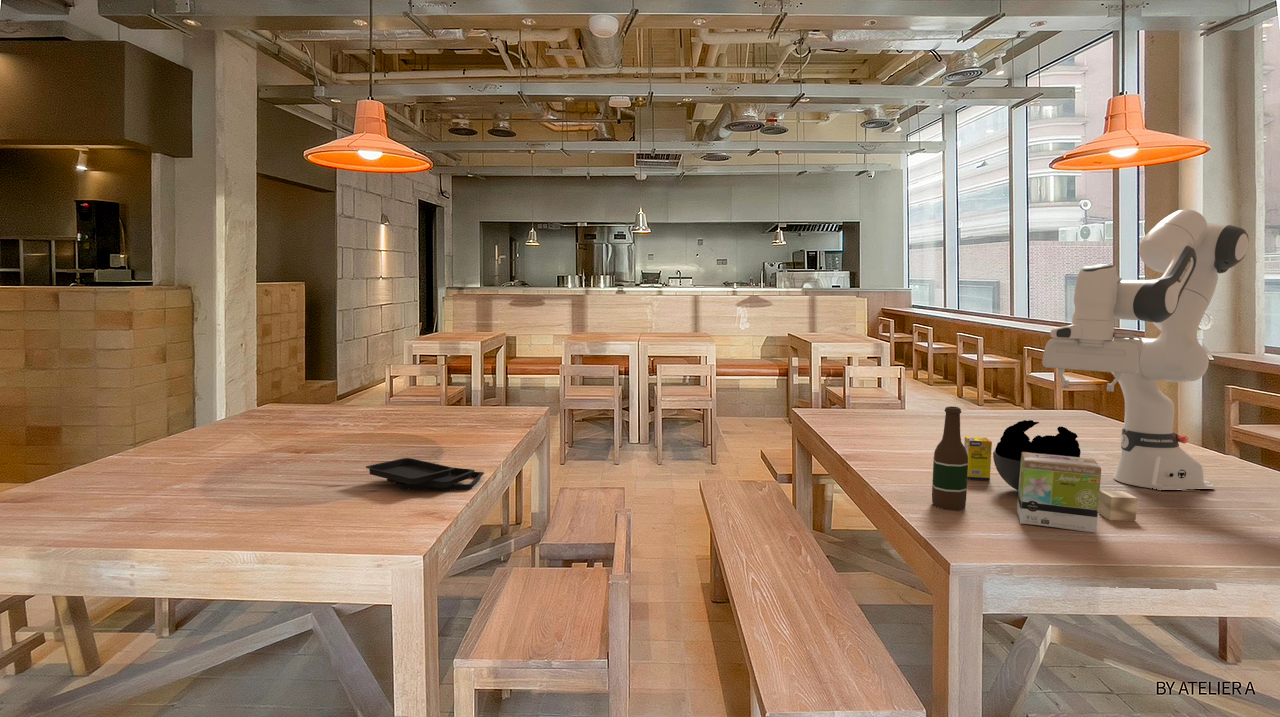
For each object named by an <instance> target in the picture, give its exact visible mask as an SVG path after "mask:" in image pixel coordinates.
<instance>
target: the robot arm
mask: <svg viewBox="0 0 1280 717" xmlns="http://www.w3.org/2000/svg"><path fill="white" fill-rule="evenodd" d="M1248 248H1249V235H1248V233H1247V231H1246V230H1245V229H1244V228H1243V227H1240V226H1238V225H1237V226H1236V225H1231V224H1227V225H1224V224H1218V223H1211V222H1207V220H1206V218H1205V217H1204V216H1203V215H1202V213H1200V212H1198V211H1196V210H1193V209H1189V208H1188V209H1180V210H1176V211H1174V212H1172V213H1170V214H1169V215H1166V217H1164V218H1163V219H1161V220H1160V221H1159V222H1157V223H1156V224H1155V225H1154V226H1153V227H1152V228H1151V229H1150V230H1149V231H1148V232H1147V233H1146V234H1145V236H1143V238H1142V239H1141V241H1140V243H1139V247H1138V251H1139V256H1140V260H1141V261H1142V262H1143V263H1144V264H1145V266H1146V267H1147V268H1149V269H1150V270H1152V271H1155V272H1157V273H1159V274H1160V273H1161V274H1162V276H1161V277H1158V278H1153V279H1123V278H1122V277H1120V276H1119V275H1118V274H1117V273H1118V271H1117V267H1116V266H1115V265H1113V264H1106V263H1099V264H1098V263H1097V264H1090V265H1085V266H1083V267H1081V268H1080V270H1079V272H1078V274H1077V278H1076V282H1075V287H1074V295H1073V303H1074V312H1073V314H1072V318H1071V319H1072V320H1071V324H1069V325H1067V324H1066V325H1065V324H1064V325H1062V326H1058V327H1055V328H1052V329H1051V331H1050V337H1051V338H1050V339H1048V340H1047V342H1046V343H1045V347H1044V351H1043V355H1042V359H1041V360H1042V361H1041V362H1042V365H1043V367H1044V368H1045V369H1048V368H1050V369H1057V374H1058V376H1059V379H1060V380H1061V388H1065V389H1069V387H1070V380H1069V379H1066V378H1065V375H1064V374H1065V371H1066V370H1076V371H1088V372H1089V371H1090V372H1103V373H1105V372H1106V373H1111V374H1112V375H1113V378H1114V379H1113V381H1112V382H1111V383H1109V382H1107V384H1106V392H1112V393H1113V392H1114V391H1115V385H1116V384H1117V383H1118V384H1119V386H1120V388H1121V392H1122V395H1123V398H1124V424H1123V425H1124V426H1123V428H1121V438H1120V447H1121V450H1120V457H1119V461H1118V464H1117V468H1116V471H1115V473H1114V475H1113V479H1114V480H1115V481H1117V482H1119V483H1123V484H1127V485H1131V486H1136V487H1141V488H1147V489H1152V488H1153V490H1156V489H1157V491H1161V490H1177V489H1198V488H1213V487H1214V485H1213V483H1212V482H1209V481H1208V480H1206V479H1205V478H1204V470H1203V466H1202V464H1201V463H1200V461H1198V460H1197V459H1195V458H1194V457H1193V456H1192V455H1190V454H1189V453H1188V452H1187V451H1185V449H1183V448H1182V447H1180V444H1179V443H1181V444H1184V445H1185V444H1187V443H1188V442H1189V438H1188V436H1186V435H1183V434H1177V433H1176V432H1174V422H1175V420H1174V419H1175V409H1176V408H1175V404H1174V401H1173V400H1172V399H1171V398H1170V397H1169V396H1167V395H1166V394H1164V393H1163V392H1162V390H1161V389H1160V387H1159V386H1158V382H1157V381H1161V382H1169V383H1171V382H1172V383H1186V382H1187V383H1188V382H1194V381H1198V380H1200V379H1201V378H1202V377H1203V376H1204V375H1205V374H1206V372H1207V370H1208V368H1209V364H1210V361H1209V360H1210V358H1209V355H1208V353H1207V351H1206V349H1205V347H1204V346H1202V345H1201V344H1200V343H1199V342H1200V341H1199V339H1198V329H1199V326H1200V324H1201V322H1202V319H1203V317H1204V315H1205V313H1206V311H1207V309H1208V307H1209V305H1210V304H1211V301H1212V300H1213V296H1214V293H1215V291H1216V287H1217V284H1218V279H1219V274H1224V273H1226V272H1227V271H1228V270H1229V269H1230V268H1231V269H1232V268H1233V267H1235V266H1237V264H1239V263H1240V262H1241V261H1242V260H1243V259H1244V258H1245V257H1246V253H1247V251H1248ZM1116 320H1127V321H1128V320H1131V321H1143V322H1149V323H1152V324H1153V326H1154V327H1156V328H1157V329H1158V330H1159V331H1160V334H1159V335H1158V336H1157V337H1156V338H1151V337H1140V336H1137V335H1136V334H1133V333H1130V334H1129V333H1128V334H1126V333H1118V332H1117V333H1116V332H1115V324H1116V323H1115V322H1116Z"/></svg>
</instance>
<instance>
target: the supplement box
mask: <svg viewBox="0 0 1280 717" xmlns="http://www.w3.org/2000/svg"><path fill="white" fill-rule="evenodd" d="M963 445H964V447H965V449H966V452H967V455H968V474H967V480H969V479H973V480H974V481H986V480H989V481H991V469H992V468H991V466H992V465H991V463H992V447H993V441H992V440H990V439H989V438H988V437H983V436H982V437H981V436H964V444H963Z"/></svg>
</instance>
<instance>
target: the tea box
mask: <svg viewBox="0 0 1280 717" xmlns="http://www.w3.org/2000/svg"><path fill="white" fill-rule="evenodd" d="M1101 477H1102V468H1101V466H1100V465H1099V464H1098V462H1097V461H1096V460H1095V458H1091V457H1090V458H1089V457H1081V456H1080V457H1069V456H1059V455H1048V454H1037V453H1027V452H1022V454H1021V464H1020V477H1019V490H1017V508H1016V512H1017V516H1018V519H1019V523H1020V525H1031V526H1040V527H1041V526H1042V527H1048V528H1049V527H1050V528H1056V529H1064V530H1071V531H1079V532H1084V533H1090V532H1095V533H1096V531H1097V525H1098V506H1099V491H1101V490H1100V489H1101V488H1100V487H1101V480H1102V479H1101Z"/></svg>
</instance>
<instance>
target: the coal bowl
mask: <svg viewBox="0 0 1280 717" xmlns="http://www.w3.org/2000/svg"><path fill="white" fill-rule="evenodd" d="M1038 424H1040V422H1039V421H1034V420H1031V419H1028V420H1026V419H1023V420H1021V421H1017V422H1016V423H1014V424H1013V425H1010V426H1008V427H1006V429H1004V431H1003V433H1002V436H1001V437H1000V441H999V442H997V444H996V446H995V449H994V450H993V452H992V458H993V462H994V466H995V469H996V471H997V473H998V474H999V476H1000V477H1001V478H1002V480H1003V481H1004V482H1005V483H1006V484H1007V485H1009V486H1010V487H1011V488H1013V489H1014V490H1016V491H1018V490H1019V477H1020V464H1021V454H1022V452H1027V453H1037V454H1048V455H1059V456H1069V457H1080V458H1081V453H1082V452H1081V448H1080V443H1079V441H1078V440H1077V439H1078V438H1079V436H1078V435H1077V433H1076V432H1072V430H1069V429H1068V428H1067V427H1064V426H1058V427H1057V430H1056V431H1057V432H1058V433H1056V434H1055V435H1049V434H1048V435H1044V436H1042V435H1039V434H1037V435H1036V436H1034V437H1033V438H1032V440H1031V438H1030V437H1029V436H1028V435H1027V434H1026V432H1027V431H1028V430H1029V429H1032V428H1033V427H1034V426H1035V425H1038ZM1030 440H1031V441H1030Z"/></svg>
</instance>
